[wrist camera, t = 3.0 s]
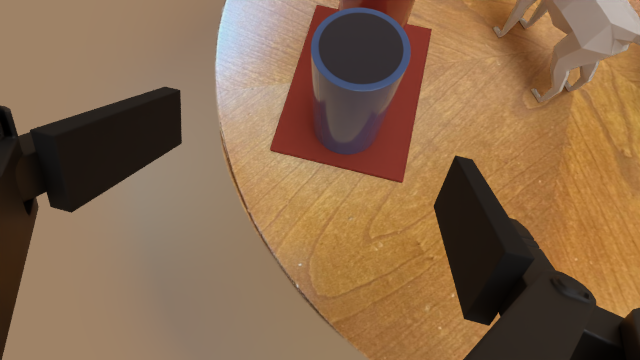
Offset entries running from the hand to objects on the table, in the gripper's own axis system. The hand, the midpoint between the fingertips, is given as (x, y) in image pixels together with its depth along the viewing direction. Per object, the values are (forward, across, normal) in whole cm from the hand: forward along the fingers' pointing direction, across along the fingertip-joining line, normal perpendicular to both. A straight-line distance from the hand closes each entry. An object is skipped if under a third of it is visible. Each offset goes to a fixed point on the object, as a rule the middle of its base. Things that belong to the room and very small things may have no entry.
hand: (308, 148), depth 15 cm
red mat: (+20, +1, -1) cm, 20 cm away
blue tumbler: (+17, +1, -4) cm, 17 cm away
